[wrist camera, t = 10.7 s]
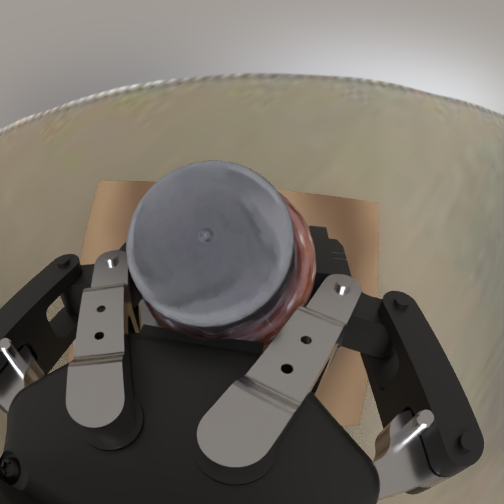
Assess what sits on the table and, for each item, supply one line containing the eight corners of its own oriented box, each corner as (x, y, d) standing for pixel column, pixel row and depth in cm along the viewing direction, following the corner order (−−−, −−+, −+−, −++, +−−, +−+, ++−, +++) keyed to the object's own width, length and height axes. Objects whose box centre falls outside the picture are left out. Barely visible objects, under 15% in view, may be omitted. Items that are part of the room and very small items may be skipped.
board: (75, 373, 19) (46, 380, 15) (105, 186, 22) (82, 165, 19) (354, 420, 18) (372, 439, 14) (372, 208, 21) (392, 187, 17)
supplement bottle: (243, 220, 18) (215, 91, 7) (314, 286, 17) (392, 228, 6) (175, 289, 18) (57, 241, 6) (244, 358, 16) (209, 425, 5)
